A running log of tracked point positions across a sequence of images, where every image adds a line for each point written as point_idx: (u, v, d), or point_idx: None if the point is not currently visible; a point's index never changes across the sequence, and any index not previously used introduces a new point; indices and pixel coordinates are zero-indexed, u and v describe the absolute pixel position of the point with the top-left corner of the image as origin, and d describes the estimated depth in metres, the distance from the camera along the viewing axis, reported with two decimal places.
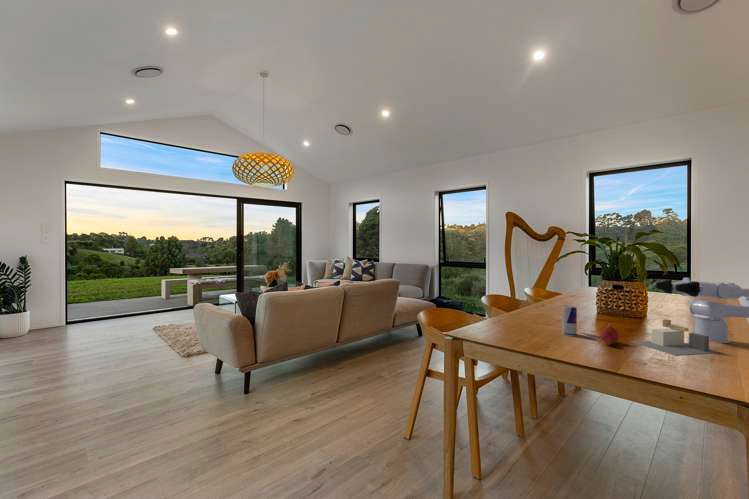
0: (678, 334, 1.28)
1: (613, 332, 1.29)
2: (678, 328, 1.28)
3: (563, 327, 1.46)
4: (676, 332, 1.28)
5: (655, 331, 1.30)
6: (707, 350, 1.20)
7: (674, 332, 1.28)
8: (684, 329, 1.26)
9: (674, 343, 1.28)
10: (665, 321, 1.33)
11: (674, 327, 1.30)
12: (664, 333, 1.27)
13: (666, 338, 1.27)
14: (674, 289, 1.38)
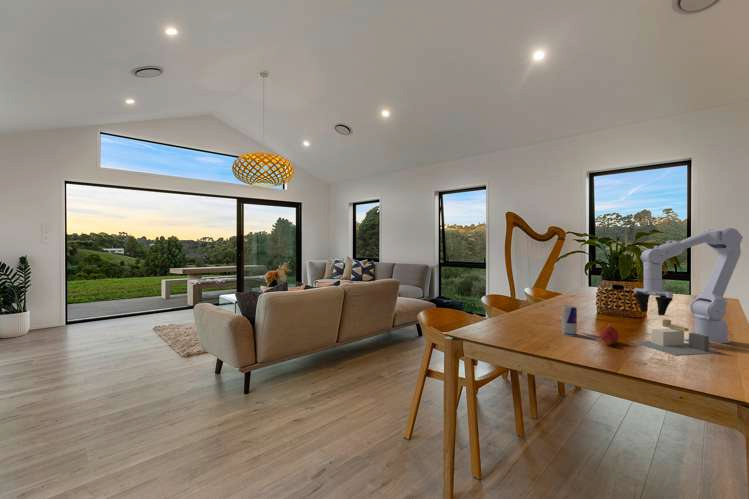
0: (678, 334, 1.28)
1: (613, 332, 1.29)
2: (678, 328, 1.28)
3: (563, 327, 1.46)
4: (676, 332, 1.28)
5: (655, 331, 1.30)
6: (707, 350, 1.20)
7: (674, 332, 1.28)
8: (684, 329, 1.26)
9: (674, 343, 1.28)
10: (665, 321, 1.33)
11: (674, 327, 1.30)
12: (664, 333, 1.27)
13: (666, 338, 1.27)
14: None
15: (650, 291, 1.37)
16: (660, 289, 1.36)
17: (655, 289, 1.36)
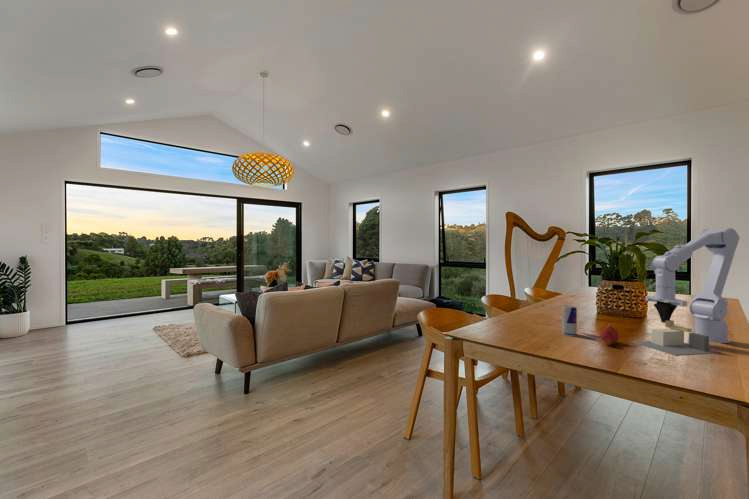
0: (678, 334, 1.28)
1: (613, 332, 1.29)
2: (682, 329, 1.27)
3: (563, 327, 1.46)
4: (676, 332, 1.28)
5: (655, 331, 1.30)
6: (707, 350, 1.20)
7: (674, 332, 1.28)
8: (687, 330, 1.25)
9: (674, 343, 1.28)
10: (668, 322, 1.32)
11: (677, 328, 1.29)
12: (664, 333, 1.27)
13: (666, 338, 1.27)
14: None
15: (663, 299, 1.32)
16: (674, 297, 1.31)
17: (668, 297, 1.31)
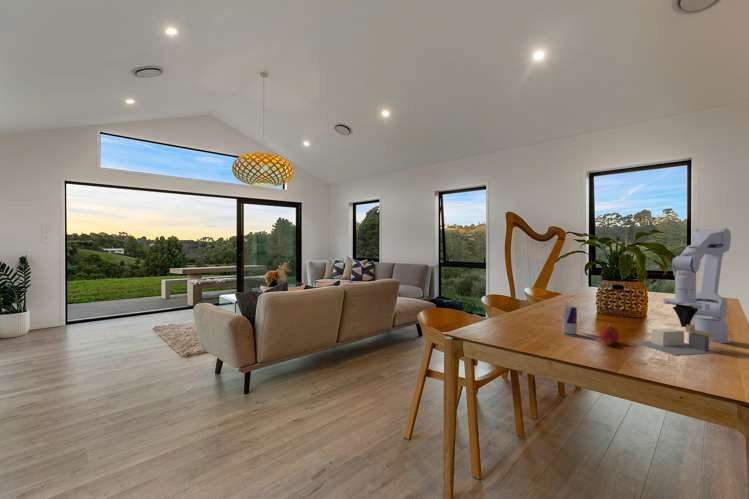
0: (678, 334, 1.28)
1: (613, 332, 1.29)
2: (704, 334, 1.20)
3: (563, 327, 1.46)
4: (676, 332, 1.28)
5: (655, 331, 1.30)
6: (707, 350, 1.20)
7: (674, 332, 1.28)
8: (710, 335, 1.18)
9: (674, 343, 1.28)
10: (688, 326, 1.25)
11: (699, 332, 1.22)
12: (664, 333, 1.27)
13: (666, 338, 1.27)
14: None
15: (683, 302, 1.25)
16: (695, 300, 1.24)
17: (689, 300, 1.24)
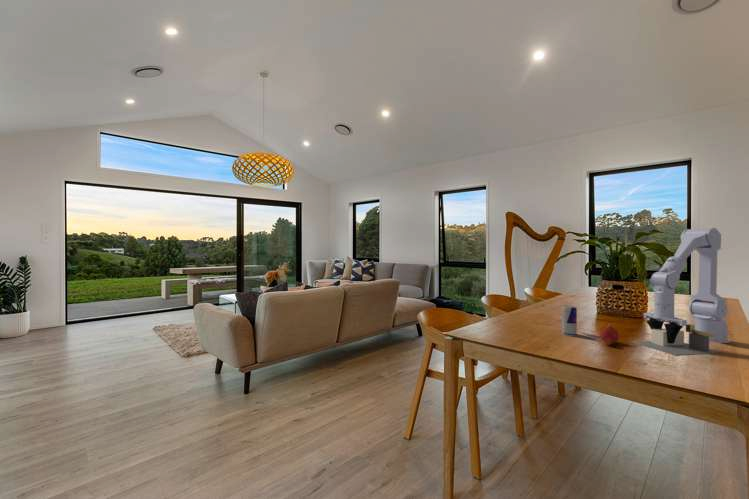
0: (678, 334, 1.28)
1: (613, 332, 1.29)
2: (704, 334, 1.20)
3: (563, 327, 1.46)
4: None
5: (655, 331, 1.30)
6: (707, 350, 1.20)
7: None
8: (710, 335, 1.18)
9: (674, 343, 1.28)
10: (689, 326, 1.25)
11: (699, 332, 1.22)
12: (664, 333, 1.27)
13: (666, 338, 1.27)
14: None
15: (662, 318, 1.27)
16: (673, 316, 1.27)
17: (667, 316, 1.27)
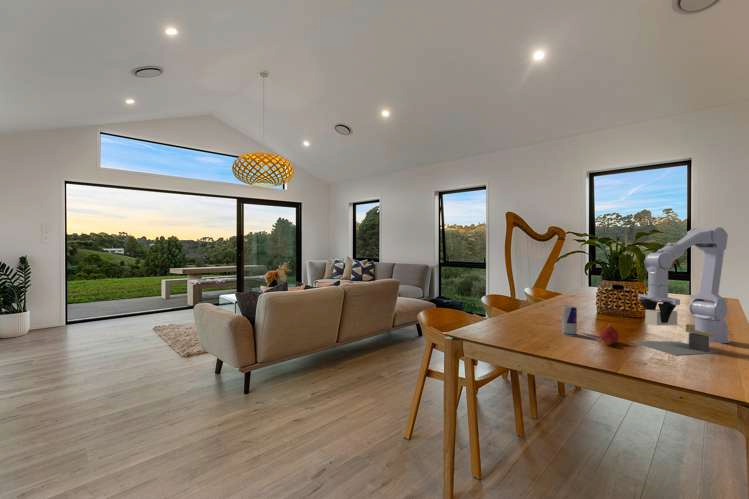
0: (671, 314, 1.30)
1: (613, 332, 1.29)
2: (704, 334, 1.20)
3: (563, 327, 1.46)
4: None
5: (649, 311, 1.31)
6: (707, 350, 1.20)
7: None
8: (710, 335, 1.18)
9: (667, 323, 1.29)
10: (689, 326, 1.25)
11: (699, 332, 1.22)
12: (658, 313, 1.29)
13: (659, 318, 1.29)
14: None
15: (655, 298, 1.29)
16: (666, 296, 1.29)
17: (661, 296, 1.29)
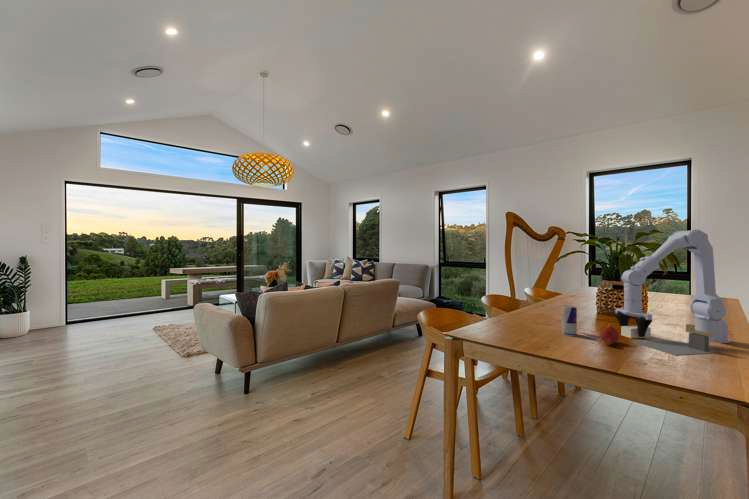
0: None
1: (613, 332, 1.29)
2: (704, 334, 1.20)
3: (563, 327, 1.46)
4: None
5: (624, 328, 1.40)
6: (707, 350, 1.20)
7: None
8: (710, 335, 1.18)
9: None
10: (689, 326, 1.25)
11: (699, 332, 1.22)
12: (632, 330, 1.37)
13: (633, 334, 1.37)
14: None
15: (630, 312, 1.38)
16: (640, 310, 1.37)
17: (635, 310, 1.37)
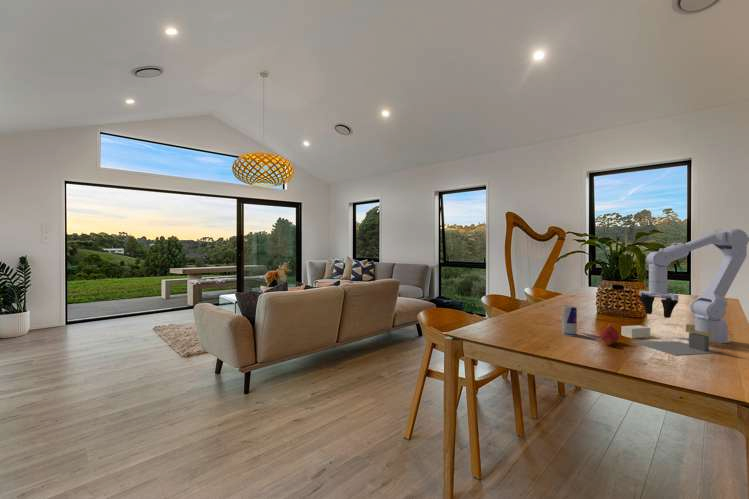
0: (645, 330, 1.38)
1: (613, 332, 1.29)
2: (704, 334, 1.20)
3: (563, 327, 1.46)
4: (643, 328, 1.38)
5: (624, 328, 1.40)
6: (707, 350, 1.20)
7: (641, 329, 1.38)
8: (710, 335, 1.18)
9: None
10: (689, 326, 1.25)
11: (699, 332, 1.22)
12: (632, 330, 1.37)
13: (634, 334, 1.37)
14: None
15: (655, 293, 1.38)
16: (666, 291, 1.37)
17: (660, 291, 1.37)
